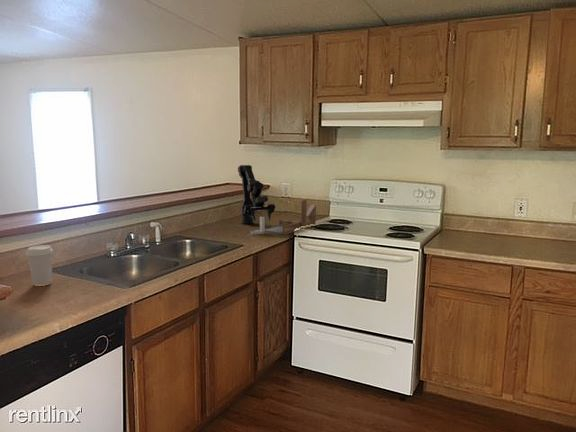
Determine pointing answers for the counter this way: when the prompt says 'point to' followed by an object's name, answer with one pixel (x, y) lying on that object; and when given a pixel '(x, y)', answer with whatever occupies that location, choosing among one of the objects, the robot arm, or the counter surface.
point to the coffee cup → (40, 263)
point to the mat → (277, 230)
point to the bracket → (262, 227)
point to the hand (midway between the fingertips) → (262, 220)
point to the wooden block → (307, 213)
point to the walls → (289, 225)
